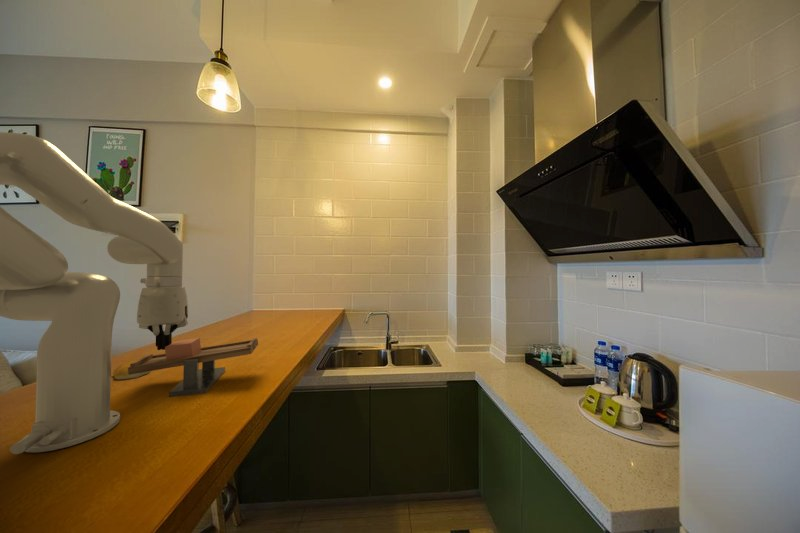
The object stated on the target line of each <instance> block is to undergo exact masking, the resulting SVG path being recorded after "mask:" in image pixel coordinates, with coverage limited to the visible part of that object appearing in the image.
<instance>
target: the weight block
mask: <svg viewBox="0 0 800 533" xmlns="http://www.w3.org/2000/svg"><path fill="white" fill-rule="evenodd" d="M200 338H201V337H196V338H195V337H194V338H188V339H183V340H182V339H181V340H176V341H175V340H174V342H172V343H171V344H170V345H168V346H166V347H165V350H164V351H165V353H166V361H167V360H173V359H179V358H185V357H191V356H195V355H197V354H198V353H199V352H201V348H202V347H201V345H202V344H201V339H200Z"/></svg>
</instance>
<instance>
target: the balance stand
mask: <svg viewBox="0 0 800 533" xmlns="http://www.w3.org/2000/svg"><path fill="white" fill-rule="evenodd" d="M215 362H216V360H213V361H207V362H201V363H202V365H201V368H200V369H199V364H200V363H199V359H192V360H185V361H184V365H183V372H182V373H183V375H182V376H183V378H182V379H183V380H181V382H178V384H176V385H175V387H173V388H172V389H171V390H170V391H169V392H168V397H170V398H171V397H179V396H180V397H181V396H189V395H190V396H191V395H198V394H206V393H207V392H208V391H209V390H210V389H211V388H212V386H213V385H214V384H215V383H216V382H217V381H218V380H219V379H220V378H221V377H222V375H223V374H224V373H225V371H226V367H225V366H224V367H216V365H215V364H216V363H215Z"/></svg>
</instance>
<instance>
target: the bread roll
mask: <svg viewBox="0 0 800 533" xmlns="http://www.w3.org/2000/svg"><path fill="white" fill-rule="evenodd" d="M137 360H138V359H137ZM137 360H136V359H135V360H128V361H125V362H123V363H121V364H120V365H118V366H116V367H115V369H114V370H113V372H112V375H113V377H114V379H116V380H117V381H118V380H129V379H137V378H140V377H143V376H144V375H145V376H146V375H147V374H149V373H151V371H148V372H142V373H136V374H130V375H129V373H128V367H130V364H131V363H133V362H135V361H137Z"/></svg>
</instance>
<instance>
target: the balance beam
mask: <svg viewBox="0 0 800 533" xmlns="http://www.w3.org/2000/svg"><path fill="white" fill-rule="evenodd" d="M258 345H259V340H258V338H257V337H254V338H251V339H250V340H249V339H248V340H240V341H235V342H231V343H230V342H228V343H223V344H217V345H211V346H210V345H209V346H203V347H201V352H199V353H198V354H197V355H195V356H191V357H185V358H179V359H173V360H167V361H166V353H159V354H154V355H153V354H152V353H150V354H147V355H144V356H143V357H141V358H139V359H137V361H135V362H133V363H131V364H130V367H128V373H129V375H130V374H136V373H142V372H148V371H150V372H153V371H159V370H164V369H170V368H177V367H181V366H182V367H184V361H185V360H192V359H199V364H201V363H202V362H207V361H213V360H215V361H217V360H223V359H230V358H234V357H235V358H236V357H240V356H241V357H242V356H247V355H251V354H253V352H254V351H255V350H256V348H257V346H258Z"/></svg>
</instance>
